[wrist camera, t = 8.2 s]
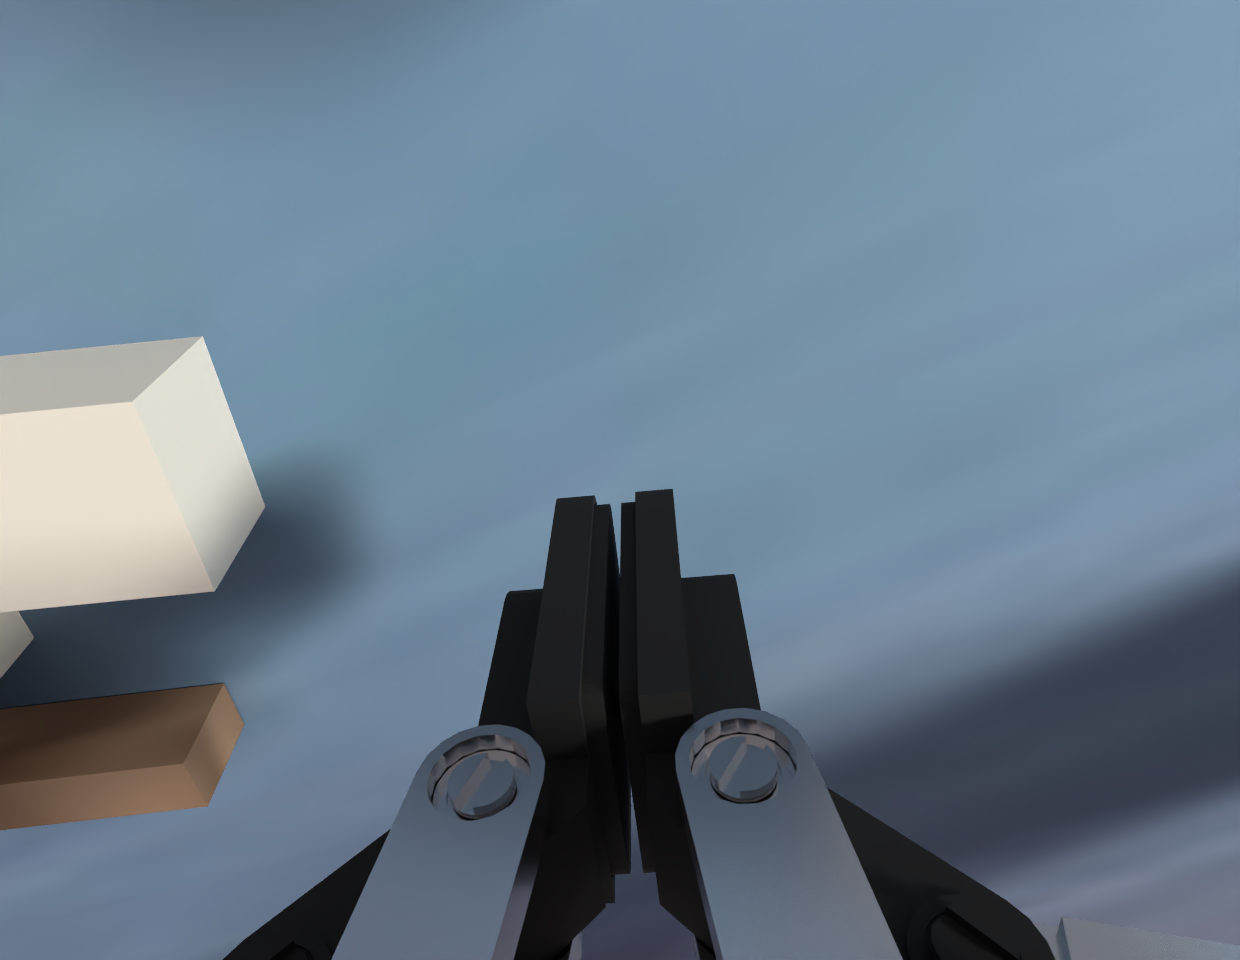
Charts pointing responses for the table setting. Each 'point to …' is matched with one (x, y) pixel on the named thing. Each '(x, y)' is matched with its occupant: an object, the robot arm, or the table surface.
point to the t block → (116, 479)
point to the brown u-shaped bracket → (114, 755)
